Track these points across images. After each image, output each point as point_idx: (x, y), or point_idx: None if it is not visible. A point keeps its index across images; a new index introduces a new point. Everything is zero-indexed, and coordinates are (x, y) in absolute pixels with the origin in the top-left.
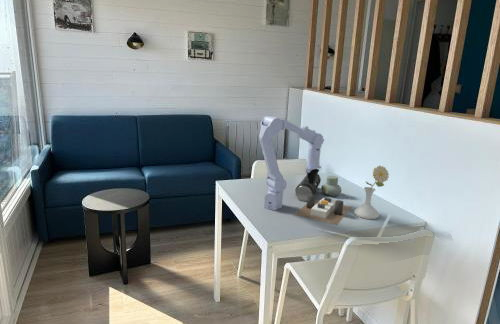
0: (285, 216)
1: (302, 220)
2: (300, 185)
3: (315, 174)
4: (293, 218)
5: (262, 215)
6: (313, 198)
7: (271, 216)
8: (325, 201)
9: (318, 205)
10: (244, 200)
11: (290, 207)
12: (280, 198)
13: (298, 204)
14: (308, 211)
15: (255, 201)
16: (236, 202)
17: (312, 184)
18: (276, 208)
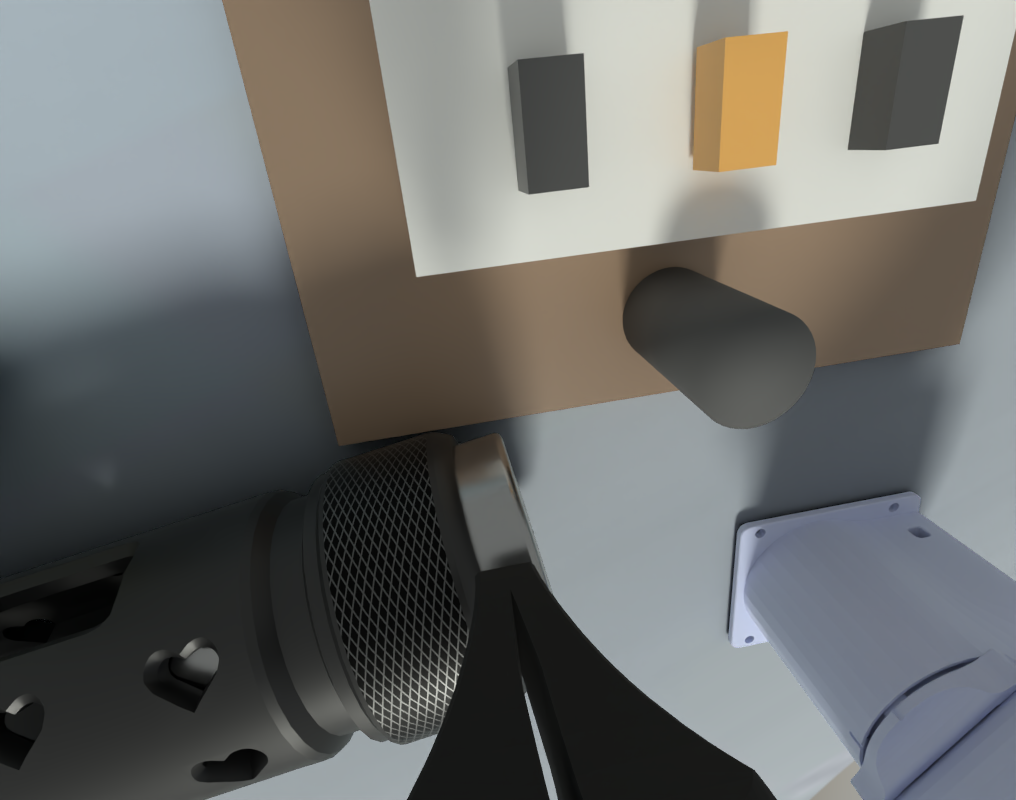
0: (964, 393)
1: (1005, 213)
2: (523, 681)
3: (659, 740)
4: (985, 312)
5: (1008, 531)
6: (777, 307)
7: (1005, 475)
8: (775, 81)
9: (931, 128)
10: (775, 769)
11: (724, 481)
12: (931, 594)
13: (594, 473)
14: (810, 264)
15: (751, 722)
16: (839, 770)
17: (259, 620)
18: (913, 527)
